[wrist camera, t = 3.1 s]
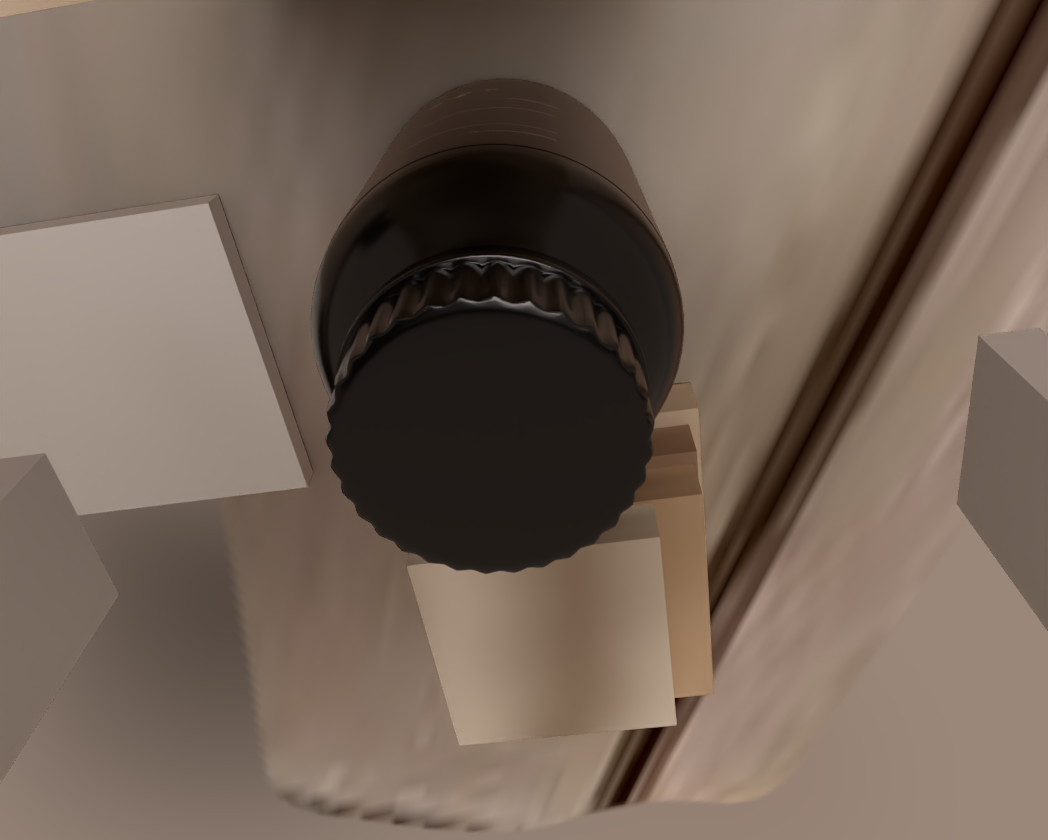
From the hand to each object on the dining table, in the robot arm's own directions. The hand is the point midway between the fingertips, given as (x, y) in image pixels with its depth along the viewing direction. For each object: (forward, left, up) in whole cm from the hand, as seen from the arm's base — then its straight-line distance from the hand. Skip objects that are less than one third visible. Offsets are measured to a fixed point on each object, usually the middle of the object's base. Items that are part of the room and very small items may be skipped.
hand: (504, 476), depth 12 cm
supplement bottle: (0, 0, -12) cm, 12 cm away
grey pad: (-12, -3, -12) cm, 17 cm away
